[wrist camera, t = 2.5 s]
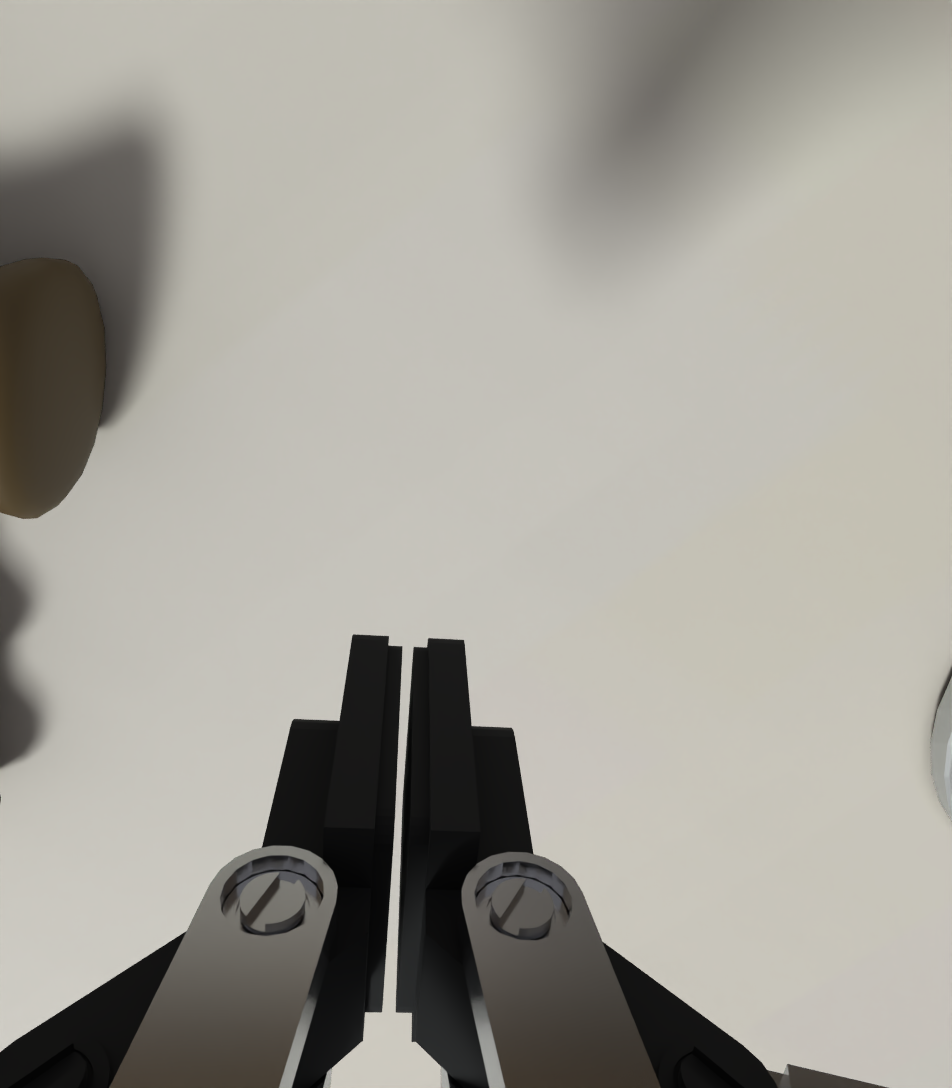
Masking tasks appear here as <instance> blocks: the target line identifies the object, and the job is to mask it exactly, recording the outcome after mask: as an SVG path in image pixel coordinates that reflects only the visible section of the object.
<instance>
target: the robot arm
mask: <svg viewBox="0 0 952 1088" xmlns="http://www.w3.org/2000/svg"><path fill="white" fill-rule="evenodd" d="M388 642H389V636H373V635H353V636H352V642H351V649H350V656H349V662H348V669H347V675H346V682H345V689H344V695H343V702H342V709H341V715H340V721H328V720H304V719H294V720H293V721H292V724H291V727H290V731H289V736H288V740H287V744H286V748H285V752H284V757H283V761H282V765H281V769H280V774H279V778H278V782H277V786H276V791H275V795H274V799H273V803H272V807H271V812H270V816H269V820H268V824H267V829H266V833H265V837H264V841H263V846H262V848H259V849H254V850H251V851H249V852H247V853H245V854H243V855H240V856H238V857H236V858H234V859H233V860H232V861H231V862H229V863H228V864H227V865H226V866H224V867H223V868H222V869H220V871H219V872H218V874H217V875H216V876H215V878H214V879H213V881H212V882H211V883H210V885H209V887H208V889H207V891H206V893H205V895H204V897H203V899H202V901H201V903H200V905H199V907H198V909H197V911H196V913H195V915H194V917H193V919H192V922H191V924H190V926H189V928H188V930H187V931H186V932H185V933H183V934H181V935H180V936H178V937H177V938H175V939H174V940H172V941H170V942H169V943H167V944H166V945H164V946H163V947H161V948H159V949H158V950H156V951H155V952H153V953H152V954H150V955H149V956H147V957H145V958H144V959H142V960H141V961H139V962H138V963H136V964H134V965H133V966H131V967H130V968H128V969H127V970H125V971H123V972H122V973H120V974H119V975H117V976H116V977H114V978H113V979H111V980H109V981H108V982H106V983H105V984H103V985H102V986H100V987H98V988H97V989H95V990H94V991H92V992H91V993H89V994H87V995H86V996H84V997H83V998H81V999H80V1000H78V1001H77V1002H75V1003H73V1004H72V1005H70V1006H69V1007H67V1008H66V1009H64V1010H62V1011H61V1012H59V1013H58V1014H56V1015H55V1016H53V1017H52V1018H50V1019H48V1020H47V1021H45V1022H44V1023H42V1024H41V1025H39V1026H37V1027H36V1028H34V1029H33V1030H31V1031H30V1032H28V1033H26V1034H25V1035H23V1036H22V1037H20V1038H19V1039H17V1040H16V1041H14V1042H13V1043H11V1044H10V1045H9V1046H8V1047H6V1048H5V1049H4V1050H3V1051H1V1052H0V1088H330V1085H331V1074H332V1067H333V1066H334V1065H336V1064H337V1063H338V1062H339V1061H340V1060H341V1059H342V1058H344V1057H345V1056H346V1055H347V1054H348V1053H349V1052H350V1051H351V1050H353V1049H354V1048H355V1047H356V1046H357V1045H358V1044H359V1043H360V1042H362V1041H363V1031H364V1017H365V1012H382V1005H383V990H384V975H385V960H386V945H387V930H388V915H389V900H390V885H391V871H392V856H393V840H394V822H395V801H396V779H397V756H398V734H399V711H400V689H401V666H402V646H388ZM930 748H931V775H932V778H933V782H934V785H935V789H936V792H937V796H938V799H939V802H940V804H941V805H942V807H943V808H944V810H945V812H946V813H947V815H948V816H949V818H950V820H951V821H952V677H951V680H950V682H949V684H948V687H947V689H946V691H945V694H944V696H943V698H942V700H941V703H940V705H939V707H938V710H937V714H936V719H935V723H934V728H933V733H932V738H931V742H930ZM396 1012H402V1013H412V1042H417V1043H418V1044H419V1045H420V1046H421V1047H422V1048H423V1049H424V1050H425V1051H426V1052H427V1053H428V1054H429V1055H430V1056H431V1057H432V1058H433V1059H434V1060H435V1061H436V1062H437V1063H438V1064H439V1065H440V1066H441V1088H888V1087H883V1086H879V1085H875V1084H871V1083H866V1082H862V1081H858V1080H854V1079H849V1078H845V1077H841V1076H836V1075H832V1074H828V1073H824V1072H819V1071H815V1070H811V1069H807V1068H802V1067H798V1066H794V1065H790V1064H787V1066H786V1068H785V1071H784V1074H781V1073H777V1072H773V1071H769V1070H767V1069H766V1068H765V1067H764V1065H763V1064H762V1062H760V1061H759V1060H758V1059H757V1058H756V1057H755V1056H754V1055H753V1054H752V1053H751V1052H750V1051H749V1050H747V1049H746V1048H745V1047H744V1046H743V1045H742V1044H740V1043H739V1042H738V1041H736V1040H735V1039H734V1038H732V1037H731V1036H729V1035H728V1034H727V1033H725V1032H724V1031H723V1030H721V1029H720V1028H719V1027H717V1026H716V1025H715V1024H713V1023H712V1022H710V1021H709V1020H708V1019H706V1018H705V1017H704V1016H702V1015H701V1014H700V1013H698V1012H697V1011H696V1010H694V1009H693V1008H692V1007H690V1006H689V1005H687V1004H686V1003H685V1002H683V1001H682V1000H681V999H679V998H678V997H677V996H675V995H674V994H673V993H671V992H670V991H668V990H667V989H666V988H664V987H663V986H662V985H660V984H659V983H658V982H656V981H655V980H654V979H652V978H651V977H650V976H648V975H647V974H645V973H644V972H643V971H641V970H640V969H639V968H637V967H636V966H635V965H633V964H632V963H631V962H629V961H628V960H626V959H625V958H624V957H622V956H621V955H620V954H618V953H617V952H616V951H614V950H613V949H612V948H610V947H609V946H607V945H606V944H605V943H603V942H602V940H601V937H600V935H599V932H598V930H597V927H596V925H595V922H594V920H593V917H592V915H591V912H590V910H589V907H588V905H587V902H586V900H585V897H584V895H583V892H582V891H581V889H580V887H579V886H578V884H577V882H576V881H575V879H574V878H573V877H572V876H571V875H570V874H569V873H568V872H567V871H566V870H564V869H563V868H562V867H561V866H560V865H558V864H556V863H554V862H552V861H550V860H549V859H547V858H545V857H542V856H538V855H534V854H533V849H532V842H531V836H530V830H529V823H528V817H527V811H526V805H525V798H524V792H523V786H522V779H521V773H520V767H519V760H518V754H517V748H516V742H515V736H514V732H513V729H512V728H501V727H477V726H471V714H470V702H469V690H468V679H467V667H466V655H465V644H464V640H453V639H433V638H428V645H427V648H423V647H414V650H413V663H412V677H411V691H410V705H409V719H408V733H407V747H406V761H405V775H404V790H403V808H402V837H401V868H400V898H399V928H398V958H397V989H396Z"/></svg>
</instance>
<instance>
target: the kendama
mask: <svg viewBox="0 0 952 1088" xmlns="http://www.w3.org/2000/svg"><path fill="white" fill-rule="evenodd" d="M105 375H106V352H105V333H104V324H103V320H102V316H101V312H100V308H99V303H98V299H97V295H96V293H95V290H94V288H93V285H92V283H91V282H90V281H89V280H88V278H87V277H86V276H85V275H84V273H83V272H82V271H81V270H80V268H79V267H78V266H77V265H75V264H73V263H71V262H69V261H66V260H62V259H51V258H34V259H24V260H21V261H17V262H14V263H10V264H7V265H4V266H0V512H1V513H4V514H7V515H11V516H15V517H18V518H22V519H30V518H38V517H40V516H41V515H43V514H45V513H46V512H48V511H50V510H51V509H53V508H55V507H56V506H58V505H59V504H60V503H61V501H62V500H63V499H64V498H65V497H66V496H67V495H68V493H69V492H70V490H71V489H72V488H73V486H74V485H75V483H76V482H77V481H78V479H79V478H80V476H81V475H82V473H83V471H84V468H85V466H86V463H87V461H88V458H89V456H90V453H91V451H92V448H93V446H94V443H95V439H96V434H97V430H98V425H99V421H100V416H101V411H102V407H103V397H104V386H105ZM0 801H1V796H0Z"/></svg>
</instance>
